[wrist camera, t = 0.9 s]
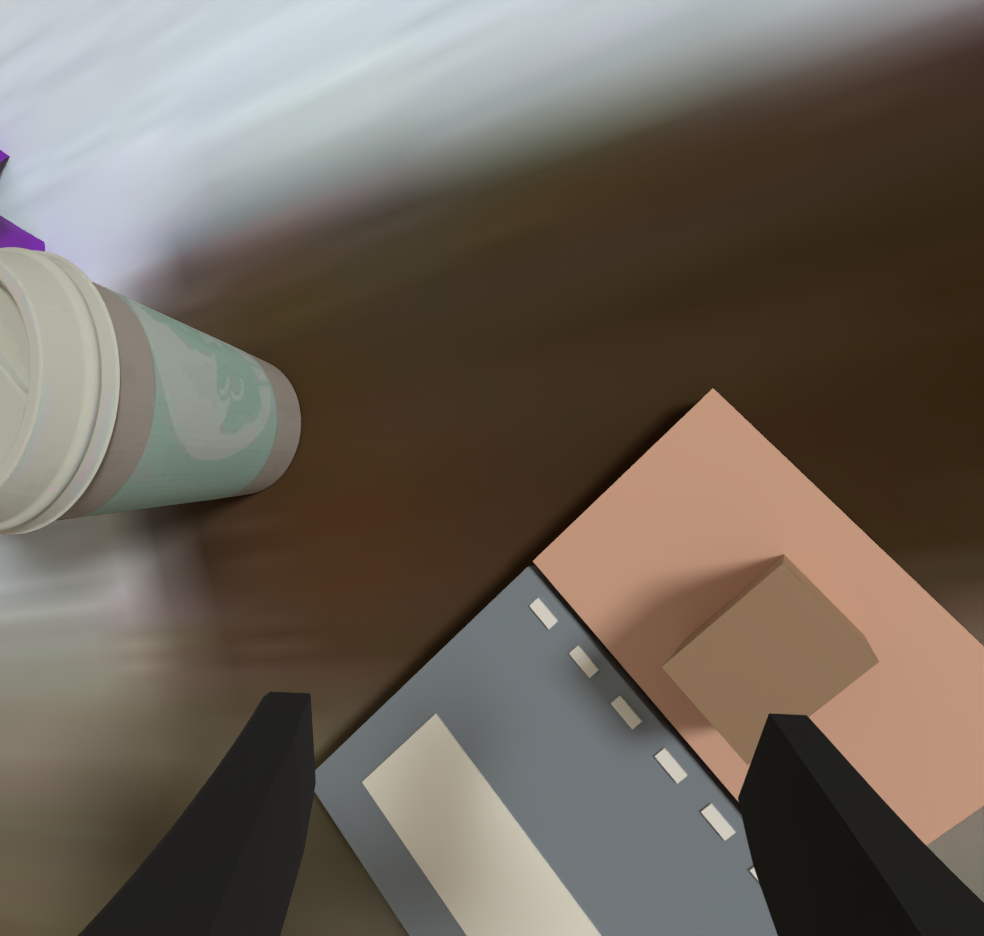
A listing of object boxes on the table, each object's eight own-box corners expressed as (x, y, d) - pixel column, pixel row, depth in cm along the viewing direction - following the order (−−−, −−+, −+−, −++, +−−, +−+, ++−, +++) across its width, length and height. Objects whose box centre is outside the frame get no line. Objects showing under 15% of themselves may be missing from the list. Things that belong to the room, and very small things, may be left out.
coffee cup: (346, 502, 29) (75, 498, 18) (184, 544, 32) (-134, 563, 21) (311, 300, 30) (35, 181, 19) (158, 359, 34) (-157, 285, 22)
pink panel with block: (1059, 722, 20) (1150, 794, 15) (829, 885, 22) (840, 999, 17) (717, 395, 24) (697, 364, 19) (546, 558, 26) (486, 570, 21)
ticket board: (821, 889, 22) (823, 917, 21) (544, 1085, 25) (528, 1122, 24) (541, 563, 26) (526, 567, 25) (329, 766, 29) (304, 779, 27)
